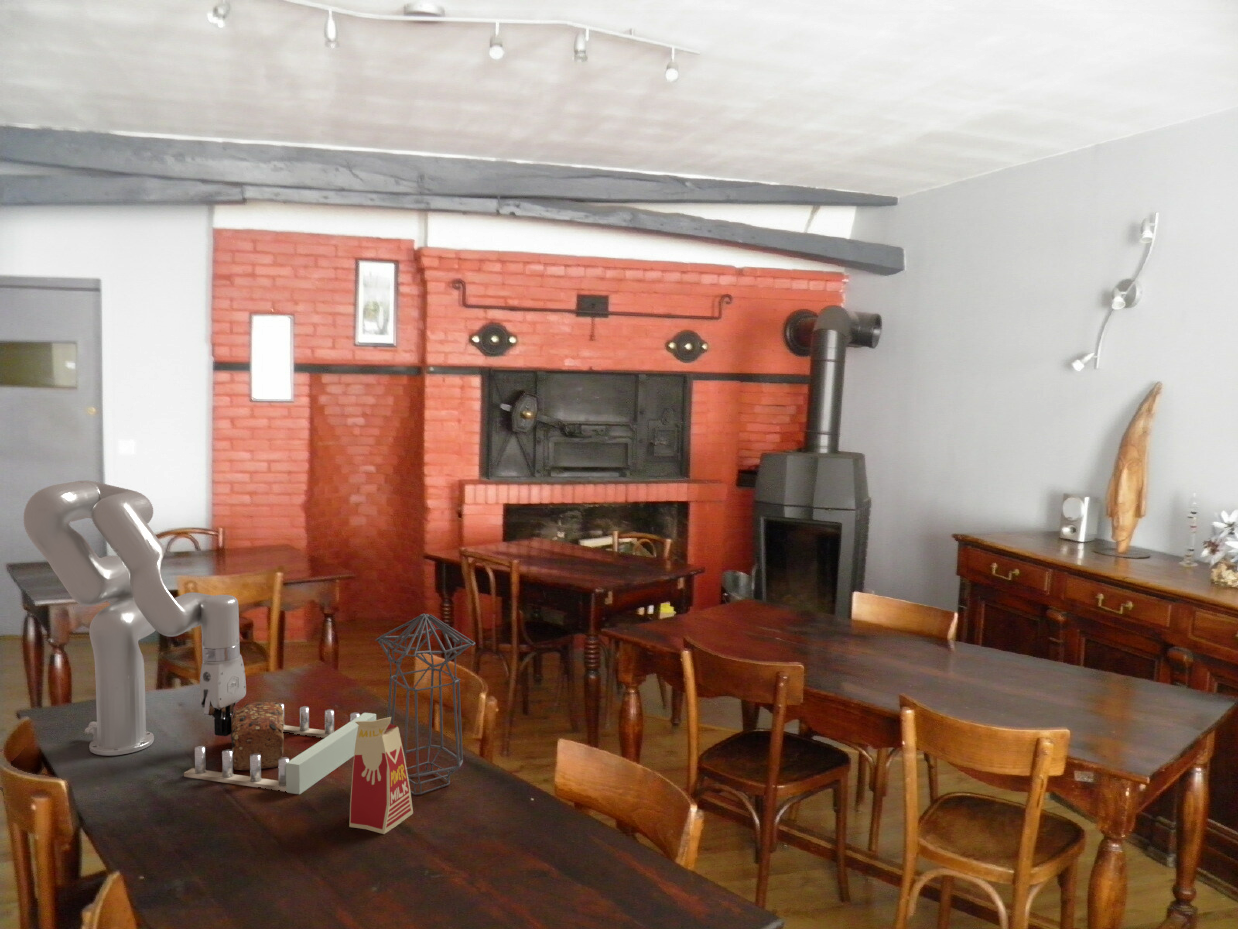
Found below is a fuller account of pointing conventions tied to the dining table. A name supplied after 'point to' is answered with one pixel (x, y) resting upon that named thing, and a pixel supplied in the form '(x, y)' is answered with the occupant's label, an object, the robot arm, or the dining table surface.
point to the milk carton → (379, 778)
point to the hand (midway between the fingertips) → (223, 734)
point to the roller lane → (299, 769)
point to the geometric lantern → (450, 633)
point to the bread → (258, 734)
